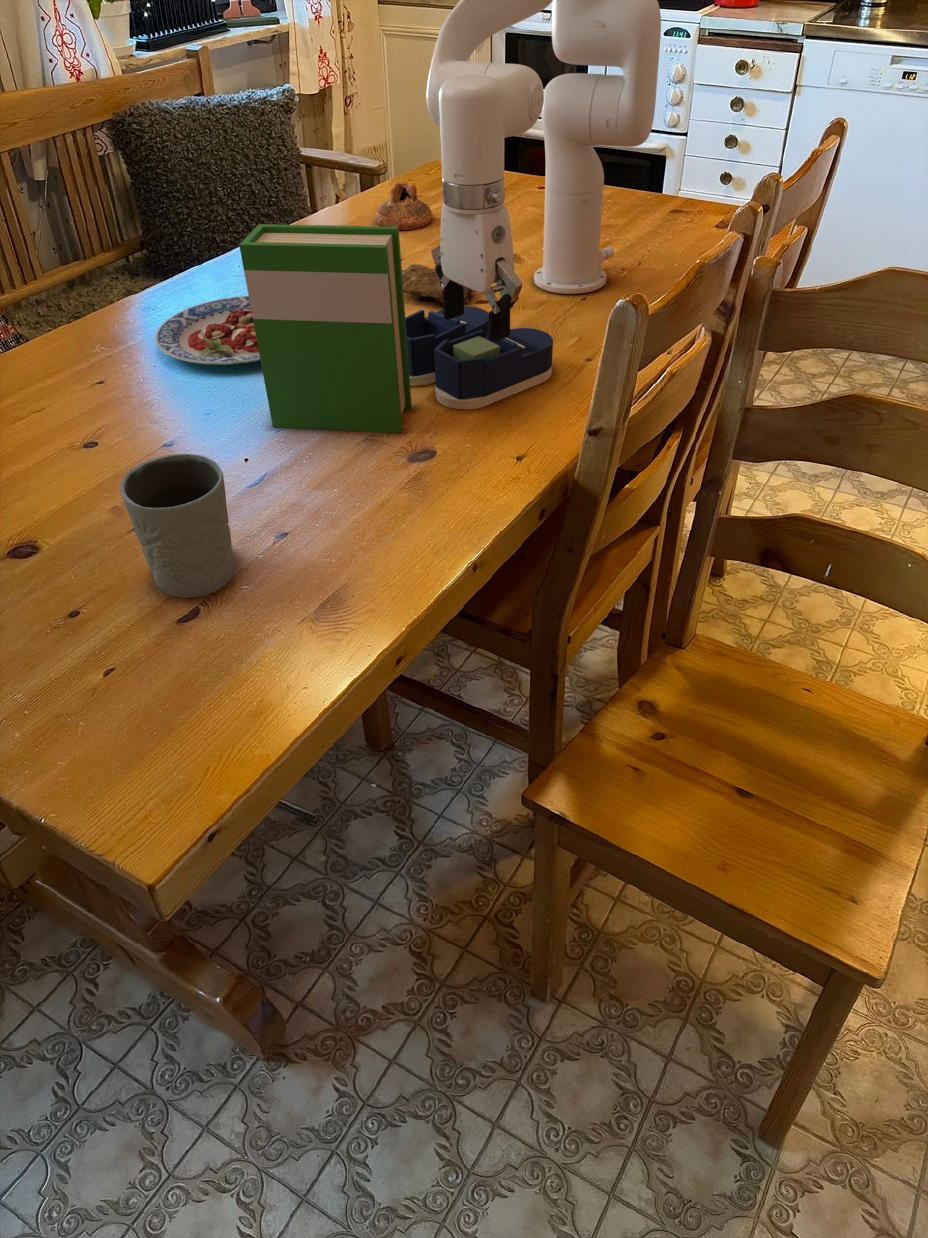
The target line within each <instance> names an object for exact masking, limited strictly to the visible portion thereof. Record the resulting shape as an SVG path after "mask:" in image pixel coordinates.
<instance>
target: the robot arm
mask: <svg viewBox="0 0 928 1238" xmlns="http://www.w3.org/2000/svg"><path fill="white" fill-rule="evenodd" d="M550 5H551V43H552V50H553V52H554V55H555V57H556V58H557V60H559V61H560V62H562V63H565V64H570V65H575V66H576V65H577V66H589V67H590V66H591V67H593V66H594V67H612V68H613V67H615V68H620V70H621V71H622V73H623V75H619V74H603V73H587V72H586V73H585V72H573V73H570V72H569V73H564V74H560V75H558V76H556V77H554V78H552V79H551V80H550V81H549V82H548V83H547V84H546V86H545V87H544V86H543V82H542V79H541V78H540V76H539V74H538V73H537V72H536V71H535V70H534V69H533V68H532V67H529V66H527V65H524V64H518V63H503V62H492V61H491V62H490V61H471V60H470V61H469V59H470V57H471V56H472V55H473V53H474V52H475V50H476V49H477V48H479V46H480V45H481V44H482V43H484V42H485V41H486V40H487V39H489V38H490V37H492V36H494V35H496V34H497V33H499V32H501V31H503V30H505V29H507V28H510V27H512V26H514V25H516V24H518V23H520V22H522V21H525V20H527V19H528V18H530V17H532V16H535V15H537V14H539V13H540V12H542V11H544V9H546V8H548V7H549V6H550ZM442 23H443V24H442V25H441V28H440V30H439V32H438V35H437V39H436V41H435V46H434V50H433V54H432V59H431V63H430V67H429V73H428V78H427V84H426V95H425V97H426V107H427V111H428V115H429V117H430V118H431V120H432V121H433V123H434V124H435V125H437V126H438V127H439V131H440V153H441V155H440V156H441V157H440V159H441V177H442V178H441V181H442V182H441V183H442V206H441V207H442V208H441V216H440V232H439V233H440V235H439V236H440V237H439V238H440V240H439V242H440V243H439V244H440V245H437V246H436V247H434V248H431V250H430V253H431V256H432V260H433V263H434V265H435V267H434V269H435V271H436V273H437V275H438V277H439V279H440V282H439V286H440V288H441V289H442V290H443V289H444V290H443V291H442V292H443V303H442V309H443V314H444V319H446V320H449V319H452V318H455V317H458V316H461V315H463V314H464V306H465V304H464V289H463V286H465V287H467V288H470V289H472V291H474V292H477V293H478V294H479V293H480V294H481V295H485V297H486V300H487V302H488V304H489V306H490V309H491V310H490V311H488V313H489V340H490V341H492V342H495V341H498V340H501V339H503V338H506V337H509V335H510V329H511V309H513V308H514V306H515V304H516V303H517V301H519V295H520V294H521V292H522V289H523V281H522V280H521V279H520V277H519V276H518V275H517V273H515V263H514V262H515V260H514V243H513V233H512V225H511V220H510V219H511V218H510V215H509V210H508V207H507V206H505V197H506V196H505V154H504V153H505V138H511V137H516V136H519V135H522V134H524V133H526V132H528V131H529V130H531V129H532V127H534V125H535V124H536V123H537V121H538V119H540V116H541V124H542V132H543V140H544V152H545V153H544V154H545V155H544V156H545V157H544V159H545V171H544V172H545V174H544V175H545V178H544V179H545V180H544V210H543V211H544V215H543V217H544V218H543V247H542V248H543V250H542V251H543V252H542V254H543V255H542V266H541V267H540V268H538V269H537V270H535V272H534V273H533V283H534V284H535V286H537V287H538V288H540V289H542V290H543V291H546V292H550V293H553V294H561V295H578V294H586V293H590V292H594V291H597V290H600V289H601V288H602V287H604V286H605V285H606V283H607V276H608V275H607V272H606V271H605V270H604V269H602V265H603V263H604V261H607V260H609V259H612V258H614V256H615V250H614V248H613V247H611V246H607V247H605V248H602V249H600V246H601V232H602V231H601V229H602V215H603V214H602V213H603V199H604V185H605V184H604V183H605V172H604V168H603V164H602V161H601V159H600V157H599V155H598V154H597V152H596V150H595V148H594V146H605V147H620V148H622V147H623V148H635V147H638V146H641V145H643V144H645V142H647V140H648V139H649V137H650V135H651V132H652V129H653V124H654V120H655V113H656V112H655V111H656V104H657V103H656V101H657V87H658V76H659V65H660V63H659V62H660V48H661V35H662V15H661V9H660V4H659V1H658V0H459V1H458V3H456V5H455V6H454V7H453V8H452V10H451V11H450V12H449V14H447V17H446V18H445V20H444V21H443V22H442ZM494 283H495V284H496V285H493V284H494ZM459 284H461V285H459ZM492 285H493V286H492ZM496 293H499V295H500V298H499V299H498V298H497V296H496Z"/></svg>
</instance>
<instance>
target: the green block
mask: <svg viewBox="0 0 928 1238" xmlns="http://www.w3.org/2000/svg"><path fill="white" fill-rule="evenodd" d="M453 354H454V358H456V359H458V360H464V359H473V358H481V357H484V358H485V360H487V359H489V358H492V357H494V356H497V355H500V346H498V345H496V344H494V343H492V342H490V341H488V340H486V339H484V338H482V337H480V336H478V337H475V338H472V339H469V340H467V341H464V342H461V343H458V344H455V345H453Z"/></svg>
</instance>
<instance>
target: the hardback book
mask: <svg viewBox="0 0 928 1238" xmlns="http://www.w3.org/2000/svg"><path fill="white" fill-rule="evenodd" d="M238 247H239V252H240V256H241V262H242V267H243V273H244V278H245V284H246V288H247V296H249V301H250V306H251V311H252V317H253V322H254V328H255V333H256V338H257V344H258V349H259V355H260V360H259V361H260V365H261V370H262V375H263V382H264V386H265V392H266V398H267V403H268V408H269V413H270V419H271V425H272V428H284V429H300V430H301V429H302V430H303V429H305V430H320V431H321V430H322V431H323V430H324V431H343V432H363V433H381V434H382V433H385V434H386V433H387V434H402V432H403V420H402V415H403V413H404V411H412V408H413V403H412V390H411V386H410V375H409V362H408V348H407V334H406V321H405V317H406V307H405V297H404V296H405V295H404V293H405V292H403V280H402V270H403V267H402V254H401V240H400V230H399V227H383V226H380V225H378V226H377V225H375V226H373V225H371V226H370V225H329V224H328V225H325V224H324V225H322V224H320V225H319V224H272V223H271V224H269V223H259V224H257V226H256V227H255V228H253V229H252V231H251V232H250V233H249V234H248V235H247V236H246V237H245V238H244V239H243V240H241V242H240V243H239V244H238Z"/></svg>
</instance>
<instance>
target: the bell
mask: <svg viewBox="0 0 928 1238" xmlns="http://www.w3.org/2000/svg"><path fill="white" fill-rule="evenodd" d="M417 189H418V188H417V186H416V185H415V183H412V182H409V181H397V182H394V183H393V184H392V186H391V187H390V190H389V191H390V197H389V199H388V200H386V201H384V202H383V203H381V204H380V206H378V209H377V211H376V212H375V218H374V219H375V224H377V225H378V226H383V227H399V231H409V230H414V229H415V230H416V229H420V228H421V227H425V226H427V225H429V224H430V223H431V221H432V219H433V212H432V210H431V208H430V207H429V206H428V204H426V203H425V202H423V201H421V200H419V199H418V197H417V196H418V191H417Z"/></svg>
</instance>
